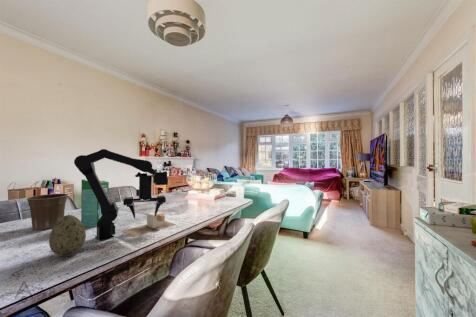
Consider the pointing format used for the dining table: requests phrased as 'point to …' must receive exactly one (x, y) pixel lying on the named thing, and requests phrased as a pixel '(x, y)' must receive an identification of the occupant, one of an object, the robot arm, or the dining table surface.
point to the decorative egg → (67, 236)
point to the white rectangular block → (155, 219)
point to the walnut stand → (145, 229)
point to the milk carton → (91, 203)
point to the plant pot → (46, 210)
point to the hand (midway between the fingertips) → (145, 217)
